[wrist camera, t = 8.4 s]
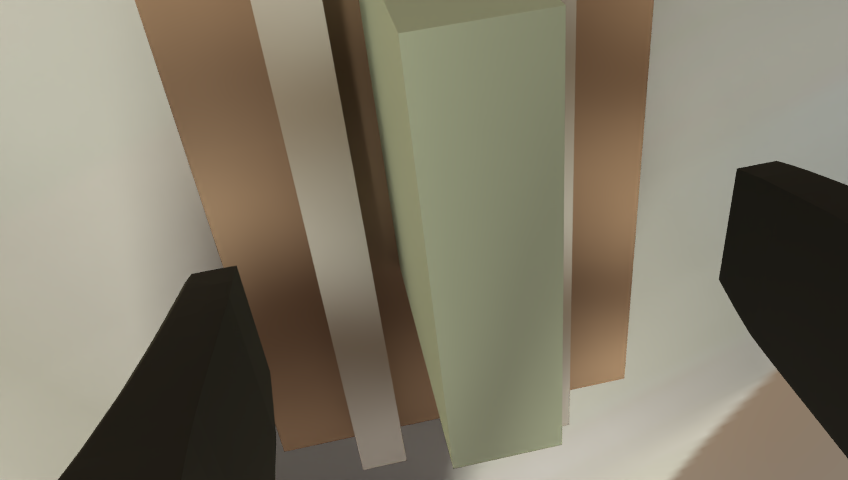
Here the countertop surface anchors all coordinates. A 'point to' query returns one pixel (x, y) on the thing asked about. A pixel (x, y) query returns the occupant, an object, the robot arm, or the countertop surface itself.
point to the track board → (378, 201)
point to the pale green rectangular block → (478, 206)
